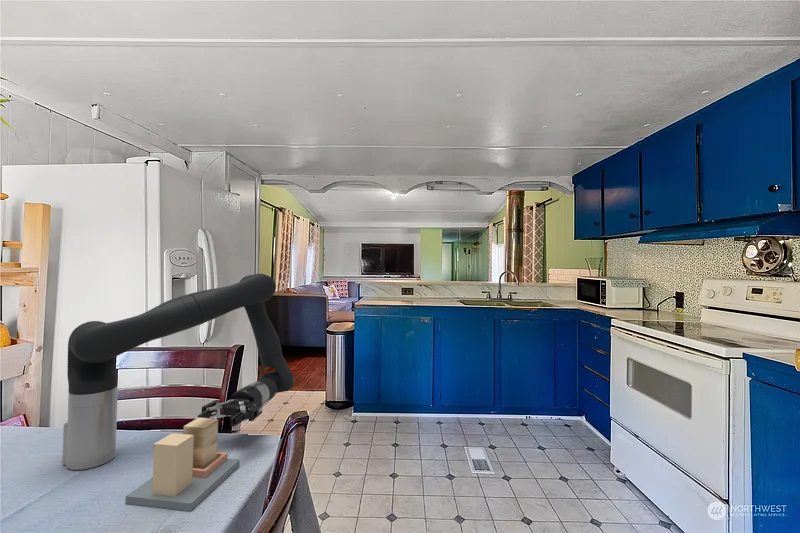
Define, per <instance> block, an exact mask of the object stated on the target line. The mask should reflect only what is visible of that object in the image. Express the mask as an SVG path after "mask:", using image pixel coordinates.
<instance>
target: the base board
mask: <svg viewBox="0 0 800 533" xmlns="http://www.w3.org/2000/svg"><path fill="white" fill-rule="evenodd" d="M193 442H194V435H188V434H183V433H175V432H174V433H173V432H172V433H170V434H168V435H167V436H165V437H163V438H161V439H160V440H158V441H156V442H155V443H153V457H152V458H153V461H152V477H151V478H150V479H148V480H147V481H146V482H144V483H142V484H141V485H140V486H138V487H137V488H135V489H134V490H132V491H130V493H128V494H126V496H125V505H132V506H141V507H150V508H159V509H166V510H167V509H168V510H174V511H175V510H176V511H185V512H192V511H193V510H194V509H195V508H196V507H197V506H198V505H200V504H201V502H202V501H203V500H205V499H206V498H207V497H208V496H209V495H210V494H211V493H212V492H213V491H214V490H215V489H217V488H218V487H219V486H220V485H221V484H222V483H223V482H224V481H226V479H227V478H228V477H229V476H230V475H232V473H234V472H235V471H236V470H237V469H238V468H239V467H240V464H241V463H240V459H236V458H228V452H221V451H220V452H219V451H217V459H216V460H215V461H213V462H212V463H211V464H210V465H209V466H207V467H206V468H205V469H199V468H193Z"/></svg>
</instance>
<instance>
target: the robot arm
mask: <svg viewBox="0 0 800 533" xmlns="http://www.w3.org/2000/svg"><path fill="white" fill-rule="evenodd" d="M276 284H277V283H276V282H275V280H274V279H273V278H272V276H270V275H267V274H264V273H254V274H248V275H245V276H244V277H243V278H241V279H240V281H238V282H236V283H234V284H229V285H227V286H221V287H215V288H210V289H209V288H208V289H205V290H200V291H195V292H191V293H188V294H184V295H181V296H177V297H175V298H172V299H169V300H167V301H165V302H163V303H160V304H158V305H156V306H154V307H153V308H151V309H149V310H147V311H145V312H143V313H140V314H138V315H134V316H131V317H128V318H124V319H120V320H115V321H110V322H104V321H99V320H92V321H87V322H84V323H82V324H79V325H78V326H77V327H76V328H74V329H73V330H72V332H71V333H70V335H69V338H68V342H67V385H68V397H67V400H68V401H67V403H68V405H67V422H65V423H64V424H63V432H62V436H63V438H62V462H61V464H62V466H65V468H66V469H69V470H72V471H73V470H74V471H79V470H80V471H81V470H87V469H93V468H95V467H99V466H101V465H103V464H106V463H108V462H110V461H112V460H113V459H114V458H115V457H116V450H117V424H118V423H117V422H118V421H117V420H118V419H117V418H118V417H117V416H118V393H119V391H118V389H119V388H118V386H119V375H118V371H117V365H116V357H118V356H120V355H122V354H124V353H126V352H129V351H131V350H132V349H133V350H134V349H135V348H137V347H139V346H142V345H144V344H146V343H149V342H151V341H154V340H158V339H161V338H164V337H168V336H172V335H174V334H177V333H180V332H183V331H186V330H188V329H192V328H195V327H198V326H200V325H202V324H205V323H208V322H210V321H212V320H214V319H217V318H219V317H222V316H224V315H226V314H229V313H230V312H232V311H235V310H237V309H241V308H244V310H245V313H246V315H247V318H248V320H249V322H250V325H251V328H252V329H251V330H252V332H253V336H254V338H255V344H256V348H257V353H258V356H259V361H260V363H261V365H262V366H263V367H267V368H273V369H274V370H272V371H268V372H264V373H263V374H261V375H260V377H259V378H258V379H257V380H256V381H254V382H251V383H249V384H247V385H245V386H244V387H242V388H240V389H239V390H237V391H235V392H234V393H232V395H231V396H230V399H228V400H227V401H224V402H220V400H219V399H214V400H212V401H211V402H208V403H206V404H205V405H203V406H201V413H199V414H198V415H197V418H210V419H214V418H216V419H221V418H224V417H230V421H229V426H230V427H231V428H232V427H233V428H234V427H235V426H237V425H239V424H240V423H242V422H246V421H247V420H248V421H249V422H253V421H255V419H257V418H258V417H259V416H260V415H262V413H263V406H265V404H266V403H268V402H269V401H270V400H272V399H273V398H274V397H275V395H276V394H278V393H285V392H286V393H287V392H289V391H290V390H292V388H293V386H294V384H295V378H294V374H293V372H292V370H291V368H290V366H289V365H288V363H287V361H286V359H285V356H284V355H283V352H282V351H283V350H282V347H281V346H282V345H281V342H280V338H279V335H278V333H277V331H276V329H275V327H274V325H273V323H272V322H271V320H270V317H269V315H268V312H267V309H266V304H265V302H267V301H269V300H270V299H271V298H272V297H273V296H274V294H275V293H276V291H277V290H276V289H277V285H276ZM221 411H222V413H221Z"/></svg>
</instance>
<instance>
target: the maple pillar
mask: <svg viewBox="0 0 800 533" xmlns="http://www.w3.org/2000/svg"><path fill="white" fill-rule="evenodd" d="M218 433H219V418H198V417H197V418H195V419H193V420H191V421H190V422H188V423H187V424H185V425H183V433H182V434H188V435H194V442H193V468H199V469H205V468H206V467H207V466H209V465H210V464H211V463H212V462H213V461H215V460H216V459H217V452H218V437H219V436H218V435H219V434H218Z"/></svg>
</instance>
